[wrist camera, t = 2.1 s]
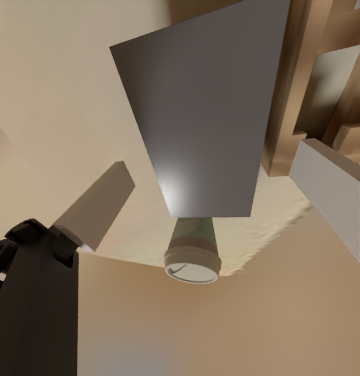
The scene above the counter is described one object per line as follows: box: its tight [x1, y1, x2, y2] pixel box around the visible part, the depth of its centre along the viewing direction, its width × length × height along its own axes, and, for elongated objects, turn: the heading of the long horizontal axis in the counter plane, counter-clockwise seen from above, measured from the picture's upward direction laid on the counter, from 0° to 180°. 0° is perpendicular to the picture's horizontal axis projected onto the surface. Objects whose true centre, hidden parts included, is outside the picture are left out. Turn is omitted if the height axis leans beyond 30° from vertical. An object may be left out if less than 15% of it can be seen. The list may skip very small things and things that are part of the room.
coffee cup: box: [164, 217, 221, 284], centre depth 24 cm, size 8×8×12 cm
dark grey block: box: [109, 0, 290, 218], centre depth 15 cm, size 15×9×8 cm, turn 11°
